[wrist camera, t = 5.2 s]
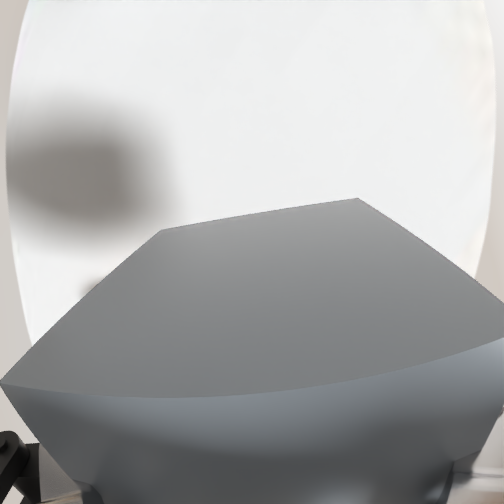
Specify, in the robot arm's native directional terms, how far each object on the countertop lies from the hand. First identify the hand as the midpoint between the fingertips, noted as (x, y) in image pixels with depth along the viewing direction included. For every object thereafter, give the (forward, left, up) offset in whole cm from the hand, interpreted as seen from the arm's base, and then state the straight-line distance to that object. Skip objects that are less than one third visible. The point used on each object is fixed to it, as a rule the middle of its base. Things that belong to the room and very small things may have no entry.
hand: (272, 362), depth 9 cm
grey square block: (0, 0, -4) cm, 4 cm away
